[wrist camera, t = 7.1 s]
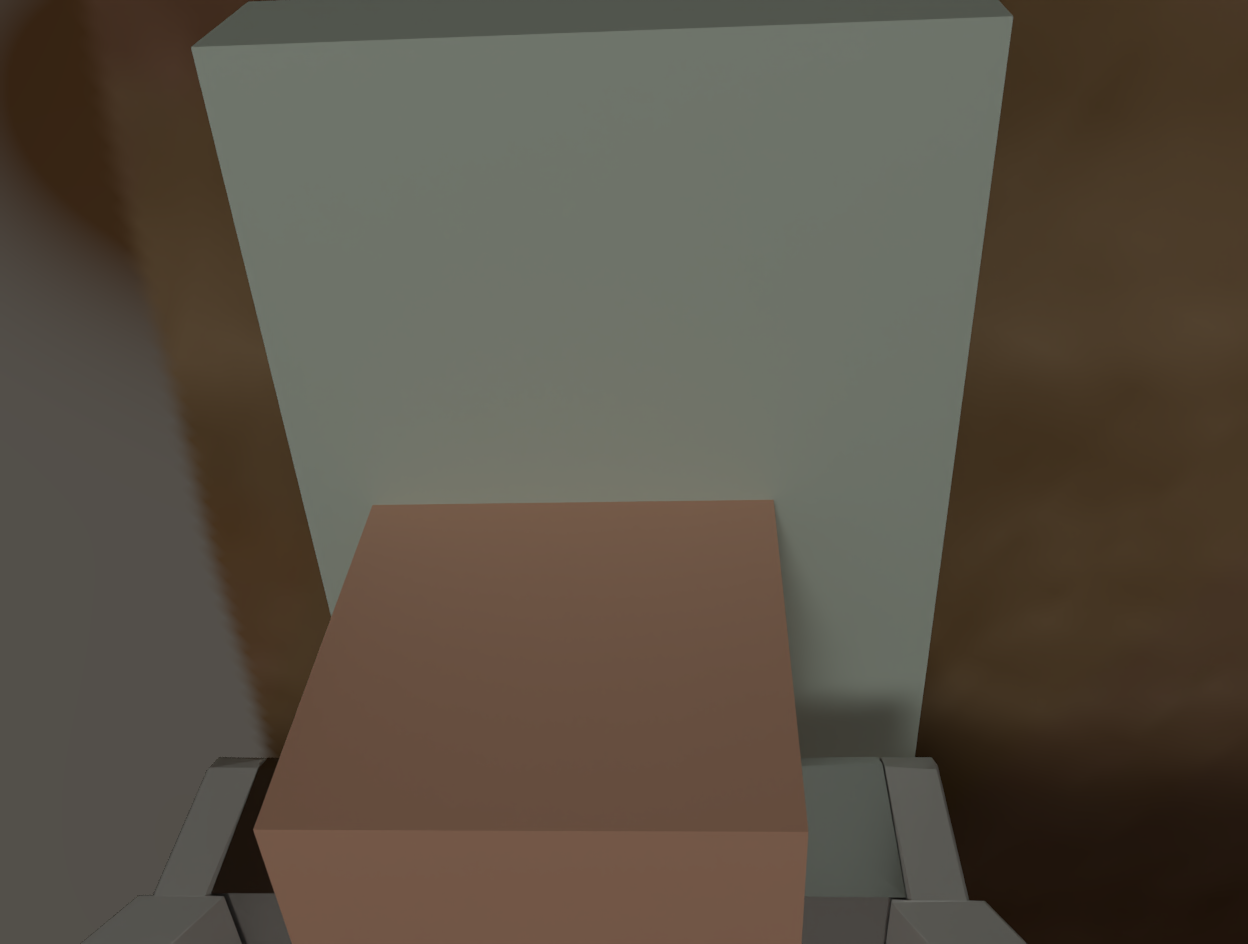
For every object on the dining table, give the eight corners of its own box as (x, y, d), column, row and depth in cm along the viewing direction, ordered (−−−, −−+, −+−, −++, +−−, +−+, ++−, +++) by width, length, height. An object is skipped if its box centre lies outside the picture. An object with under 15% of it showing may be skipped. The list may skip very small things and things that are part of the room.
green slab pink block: (973, -29, 10) (1200, 223, 6) (864, 944, 18) (923, 1373, 14) (247, 1, 11) (-75, 258, 6) (450, 940, 19) (374, 1356, 14)
